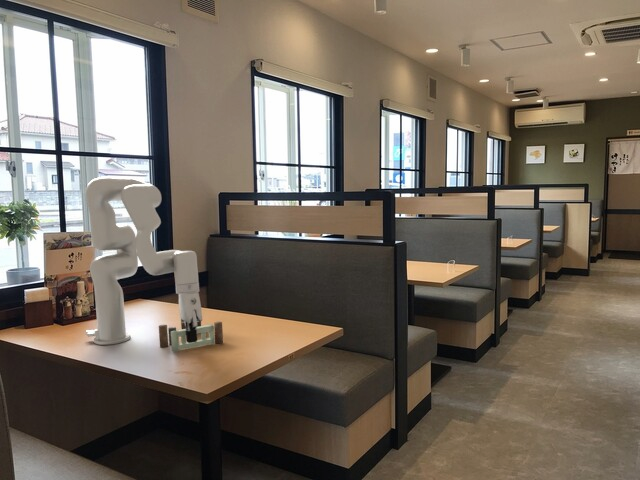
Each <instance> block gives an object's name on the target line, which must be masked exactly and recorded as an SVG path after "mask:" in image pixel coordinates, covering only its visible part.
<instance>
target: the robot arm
mask: <svg viewBox="0 0 640 480" xmlns="http://www.w3.org/2000/svg"><path fill="white" fill-rule="evenodd" d="M84 197H85V201H86V205H87V209H88V212H89V222H90V231H91V235H90V236H91V243H92V246H93V248H94V249H95V251H97V252H111V251H116V253H111V254H104V255H101V256H100V255H99V256H97V257H96V258H94V259H93V260H92V261H91V262H90V266H89V272H90V276H91V280H92V284H93V289H94V290H93V291H94V299H95V311H96V312H95V313H96V314H95V315H96V324H97V325H96V326H97V328H96V329H94V330H93V329H91V330H89V329H87V330H86V332H85V333H86V334H85V335H86V336H87V337H89V338H90V337H94V338H93V343H94V344H95V345H101V346H106V345H107V346H108V345H115V344H120V343H124V342H126V341H129V340H130V339H131V333H129V332H127V331H126V329H127V328H126V318H125V317H126V316H125V315H126V314H125V304H124V303H125V301H124V300H125V299H124V292H123V287H121V285H120V283H119V282H118V280H120V279H126V278H129V277H132V276H134V275H136V273H137V270H138V268H139V262H140V263H141V265H142V267H143V269H144V271H146V273H148V274H149V275H152V276H160V275H165V274H170V273H174V283H175V294H177V295H178V311H179V318H180V320H181V319H182V320H183V321H184V322H185V329H186V342H188V343H192V342H196V341H197V340H198V334H197V326H198V325H197V320H198V321H201V322H202V321H203V312H202V305H201V299H200V293H199V292H200V282H199V270H198V258H197V253H196V252H195V251H193V250H180V249H179V250H178V249H169V250H163V251H161V250H160V251H156V249H155V247H154V245H153V243H152V240H151V239H152V238H151V237H152V232H154V231H155V230H157V229H158V228H159V227H160V225H161V224H162V221H161V218H160V216H159V214H158V212H157V211H156V209H155V208H158V207H159V206H160V205H161V203H162V193H161V191H160V189H158V187H156V186H155V185H153V184H152V183H148V182H145V181H142V180H139V179H136V178H133V177H127V176H125V177H124V176H101V177H97V178H94V179H92V180H91V181H90V182H89V183H87V186H86V189H85V196H84ZM117 201H118V202H119V201H122V204H123V207H124V208H125V209H126V212H127V214H128V216H129V218H130V219H131V221H132V224H133V226H134V227H135V229H136V233H135V231H134V229H133V228H132V226H130V225H128V224H125V223H117V219H116V211H115V210H114V208H113V206H112V205H111V204H110V202H117Z"/></svg>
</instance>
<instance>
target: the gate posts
mask: <svg viewBox="0 0 640 480" xmlns="http://www.w3.org/2000/svg"><path fill="white" fill-rule="evenodd" d="M213 325H214V340H215V344H214V345H223V344H224V334H223V333H224V332H223V321H215V322H213ZM176 330H177V327H176V326H175V327H173V326H172V327H168V325H167V324H159V325H158V335H159V336H158V337H159V348H160V349H165V348H168V347H169V346H172V344H171V331H176Z"/></svg>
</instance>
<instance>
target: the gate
mask: <svg viewBox="0 0 640 480" xmlns="http://www.w3.org/2000/svg"><path fill="white" fill-rule="evenodd" d="M207 333H208V337H207ZM198 334H200V337H201V339H197V341H196V342H192V343H188V342H187V341H186V329H176V331H171V344H172V345H171V351H172V352H179V351H181V350H186V349H191V348H197V347H203V346H207V345H216V344H215V331H214V324H206V325H201V326H199V327H197V335H198ZM179 337H180V339H179ZM179 340H180V341H179Z"/></svg>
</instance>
